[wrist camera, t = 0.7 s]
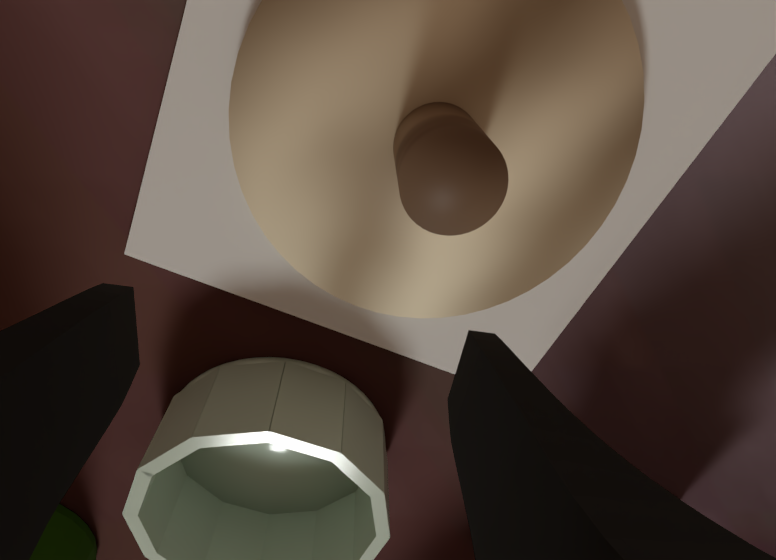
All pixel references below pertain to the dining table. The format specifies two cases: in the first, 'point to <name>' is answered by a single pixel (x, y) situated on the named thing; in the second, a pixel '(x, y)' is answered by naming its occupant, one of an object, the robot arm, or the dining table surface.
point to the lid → (434, 142)
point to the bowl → (264, 468)
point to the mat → (447, 335)
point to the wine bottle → (65, 538)
